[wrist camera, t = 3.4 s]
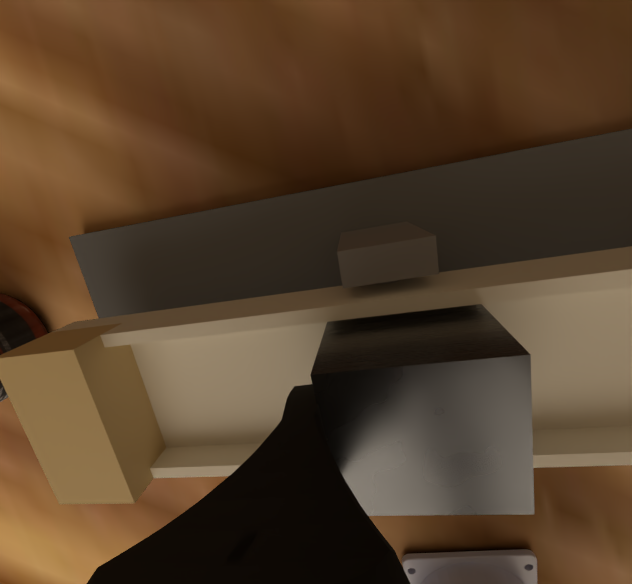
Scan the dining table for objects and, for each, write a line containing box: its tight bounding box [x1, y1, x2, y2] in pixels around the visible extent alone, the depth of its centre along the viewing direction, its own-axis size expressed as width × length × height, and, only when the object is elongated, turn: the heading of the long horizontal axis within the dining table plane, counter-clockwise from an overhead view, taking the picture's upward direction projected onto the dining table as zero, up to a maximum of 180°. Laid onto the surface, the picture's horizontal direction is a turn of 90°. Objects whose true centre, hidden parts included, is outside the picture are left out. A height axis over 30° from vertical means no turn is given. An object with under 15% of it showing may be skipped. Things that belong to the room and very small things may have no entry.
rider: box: [310, 304, 534, 516], centre depth 10 cm, size 4×5×4 cm
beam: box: [0, 246, 632, 504], centre depth 12 cm, size 7×28×4 cm, turn 100°
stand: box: [69, 129, 632, 318], centre depth 15 cm, size 14×30×6 cm, turn 100°
